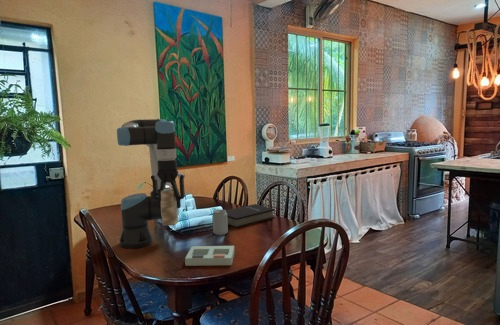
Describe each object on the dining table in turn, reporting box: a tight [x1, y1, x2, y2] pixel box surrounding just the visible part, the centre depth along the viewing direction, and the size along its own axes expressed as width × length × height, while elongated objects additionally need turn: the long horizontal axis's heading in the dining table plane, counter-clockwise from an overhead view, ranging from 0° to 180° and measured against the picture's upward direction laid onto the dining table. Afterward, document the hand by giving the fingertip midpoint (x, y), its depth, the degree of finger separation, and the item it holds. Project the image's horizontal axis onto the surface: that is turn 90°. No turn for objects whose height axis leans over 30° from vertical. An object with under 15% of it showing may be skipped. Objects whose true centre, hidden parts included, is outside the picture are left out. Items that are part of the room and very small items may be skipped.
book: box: [225, 203, 275, 229], centre depth 201 cm, size 28×20×6 cm
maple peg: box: [161, 188, 179, 227], centre depth 142 cm, size 5×5×14 cm
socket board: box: [184, 245, 235, 267], centre depth 145 cm, size 19×14×4 cm
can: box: [212, 209, 229, 236], centre depth 177 cm, size 8×8×12 cm
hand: (170, 215), depth 142 cm, fingers closed on maple peg, 5 cm apart
